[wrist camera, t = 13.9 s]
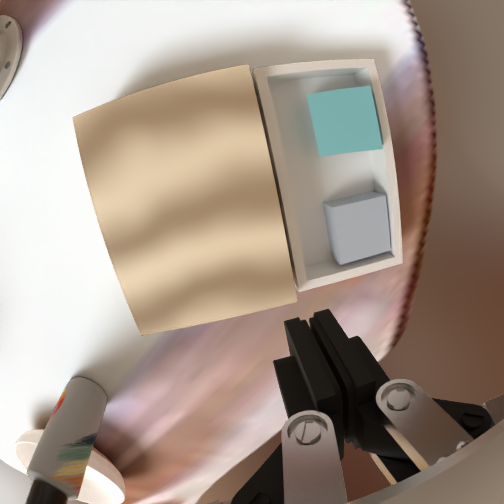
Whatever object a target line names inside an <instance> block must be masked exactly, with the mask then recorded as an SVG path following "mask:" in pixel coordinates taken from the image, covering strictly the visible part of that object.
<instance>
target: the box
mask: <svg viewBox="0 0 504 504" xmlns="http://www.w3.org/2000/svg"><path fill="white" fill-rule="evenodd" d="M251 77H252V81H253V85H254V89H255V93H256V98H257V102H258V106H259V111H260V115H261V119H262V124H263V128H264V133H265V137H266V142H267V147H268V151H269V156H270V161H271V165H272V170H273V175H274V180H275V185H276V189H277V194H278V199H279V204H280V209H281V215H282V220H283V225H284V230H285V235H286V241H287V246H288V251H289V257H290V262H291V268H292V273H293V279H294V283H295V285H296V287H297V289H298V291H299V292H300V291H304V290H308V289H312V288H316V287H320V286H323V285H327V284H331V283H335V282H338V281H342V280H345V279H349V278H353V277H356V276H360V275H363V274H367V273H370V272H374V271H377V270H381V269H384V268H387V267H391V266H394V265H397V264H401V263H402V236H401V219H400V205H399V194H398V185H397V176H396V168H395V160H394V153H393V146H392V140H391V134H390V128H389V123H388V117H387V112H386V107H385V102H384V98H383V93H382V89H381V84H380V80H379V76H378V72H377V68H376V64H375V61H374V59H339V60H321V61H309V62H298V63H289V64H281V65H273V66H266V67H259V68H253V71H252V73H251ZM362 86H370V87H371V91H372V96H373V100H374V105H375V110H376V115H377V120H378V125H379V131H380V137H381V143H382V149H379V150H369V151H360V152H351V153H343V154H335V155H328V156H320V157H319V152H318V147H317V142H316V137H315V132H314V127H313V123H312V118H311V113H310V109H309V104H308V100H307V96H306V95H307V94H313V93H319V92H325V91H331V90H338V89H345V88H353V87H362ZM371 191H373V192H376V193H379V194H383V195H386V204H387V213H388V223H389V234H390V247H391V250H390V251H387V252H383V253H380V254H377V255H373V256H370V257H366V258H363V259H359V260H356V261H352V262H349V263H345V264H342V265H340V264H339V263H338V262H337V261H336V260H335V259H334V258H333V257H332V256H331V252H330V245H329V239H328V232H327V226H326V220H325V214H324V209H323V203H322V202H327V201H331V200H335V199H340V198H344V197H349V196H353V195H358V194H362V193H367V192H371Z"/></svg>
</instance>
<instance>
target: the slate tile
mask: <svg viewBox="0 0 504 504" xmlns="http://www.w3.org/2000/svg"><path fill="white" fill-rule="evenodd" d="M322 203H323V209H324V214H325V220H326V226H327V232H328V239H329V245H330V252H331V256H332V257H333V258H334V259H335V260H336V261H337V262H338V263H339V264H340V265H342V264H345V263H349V262H352V261H356V260H359V259H363V258H366V257H370V256H373V255H377V254H380V253H383V252H387V251H390V250H391V247H390V234H389V223H388V213H387V204H386V195H383V194H379V193H376V192H373V191H371V192H367V193H362V194H358V195H353V196H349V197H344V198H340V199H335V200H331V201H327V202H322Z"/></svg>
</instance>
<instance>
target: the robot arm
mask: <svg viewBox="0 0 504 504" xmlns="http://www.w3.org/2000/svg"><path fill="white" fill-rule="evenodd" d="M22 41H23V37H22V30H21V27H20V24H19V23H18V22H17V21H16V20H15V19H13V18H12V17H10V16H7V15H0V99H1V97H2V96H3V94H4V93H5V91H6V90H7V88H8V86H9V84H10V82H11V80H12V78H13V76H14V73H15V71H16V68H17V65H18V62H19V59H20V55H21V50H22ZM309 322H310V327H309V325H308V323H307V321H306V320H300V319H299V317H298V318H294V319H290V320H287V321H284V325H285V330H286V335H287V340H288V346H289V351H290V356H289V357H285V358H282V359H278V360H274V361H273V363H274V367H275V372H276V376H277V380H278V383H279V387H280V391H281V395H282V398H283V402H284V405H285V409H286V412H287V416H288V420H287V421H286V422H285V424H284V425H283V427H282V442H281V444H280V445H279V446H278V447H277V449H276V450H275V451H274V452H273V453H272V455H271V456H270V457H269V458H268V459H267V460H266V461H265V463H264V464H263V465H262V466H261V467H260V468H259V470H258V471H257V472H256V473H255V474H254V475H253V476H252V477H251V478H250V479H249V481H248V482H247V483H246V484H245V485H244V486H243V487H242V488H241V489H240V490H239V491H238V492H237V493H236V495H235V496H234V497H233V498H232V499H229V500H226V501H223V502H221V501H220V500H218V501H215V502H212V503H208V504H504V394H503V395H500V396H498V397H496V398H493V399H491V400H488V401H486V402H484V404H483V405H482V406H478V405H474V404H468V403H460V402H453V401H447V400H440V399H434V398H431V397H430V396H428V394H426V393H425V392H424V391H423V390H422V389H421V388H420V387H419V386H418V385H417V384H415V383H414V382H412V381H409V380H405V379H397V380H392V381H390V379H389V378H388V376H387V375H386V374H385V372H384V371H383V369H382V368H381V366H380V365H379V364H378V362H377V361H376V359H375V358H374V356H373V355H372V354H371V352H370V351H369V349H368V348H367V346H366V345H365V344H364V342H363V341H362V339H361V338H360V337H359V336H355V337H352V338H348V337H347V335H346V334H345V332H344V331H343V329H342V328H341V326H340V325H339V323H338V322H337V320H336V319H335V317H334V316H333V314H332V313H331V311H330V310H329V309H326V310H322V311H319V312H315V313H314V317H312V318H309ZM344 439H345V441H346V442H347V443H350V442H352V443H353V446H354V448H355V449H357V448H359V447H361V449H362V450H363V451H367V452H370V455H371V457H372V459H373V460H374V461H375V463H376V464H377V466H378V467H379V468H380V470H381V471H382V472H383V473H384V475H385V476H386V478H387V479H388V481H389V482H390V483H391V485H392V486H390V487H387V488H385V489H383V490H380V491H378V492H375V493H373V494H370V495H368V496H365V497H362V498H360V499H357V500H354V501H352V502H349V503H348V502H347V496H346V491H345V485H344V479H343V474H342V469H341V463H340V462H341V460H342V459H343V457H344Z"/></svg>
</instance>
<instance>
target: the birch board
mask: <svg viewBox="0 0 504 504" xmlns="http://www.w3.org/2000/svg"><path fill="white" fill-rule="evenodd" d="M73 122H74V128H75V133H76V138H77V142H78V147H79V152H80V156H81V160H82V165H83V169H84V173H85V177H86V181H87V184H88V188H89V192H90V195H91V199H92V203H93V206H94V209H95V213H96V216H97V219H98V223H99V226H100V229H101V232H102V235H103V238H104V241H105V244H106V247H107V250H108V253H109V256H110V259H111V261H112V264H113V267H114V270H115V272H116V275H117V278H118V280H119V283H120V285H121V288H122V291H123V293H124V296H125V298H126V301H127V303H128V305H129V308H130V310H131V313H132V315H133V317H134V320H135V322H136V324H137V326H138V329H139V331H140V333H141V335H148V334H153V333H159V332H164V331H169V330H175V329H180V328H185V327H190V326H195V325H199V324H204V323H209V322H214V321H218V320H223V319H227V318H232V317H236V316H241V315H245V314H249V313H253V312H258V311H262V310H266V309H270V308H274V307H278V306H282V305H286V304H290V303H294V302H297V296H296V291H295V285H294V279H293V273H292V268H291V262H290V257H289V251H288V246H287V241H286V235H285V230H284V225H283V220H282V215H281V209H280V204H279V199H278V194H277V189H276V185H275V180H274V175H273V170H272V165H271V161H270V156H269V151H268V147H267V142H266V137H265V133H264V128H263V124H262V119H261V115H260V111H259V106H258V102H257V98H256V93H255V89H254V85H253V81H252V77H251V72H250V68H249V64H246V65H240V66H235V67H230V68H225V69H220V70H215V71H211V72H206V73H202V74H198V75H194V76H190V77H186V78H182V79H178V80H175V81H171V82H168V83H164V84H161V85H157V86H154V87H151V88H148V89H145V90H142V91H139V92H136V93H133V94H130V95H127V96H124V97H121V98H119V99H116V100H113V101H111V102H108V103H106V104H103V105H101V106H98V107H96V108H93V109H91V110H88V111H86V112H84V113H81V114H79V115H77V116H75V117H73Z"/></svg>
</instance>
